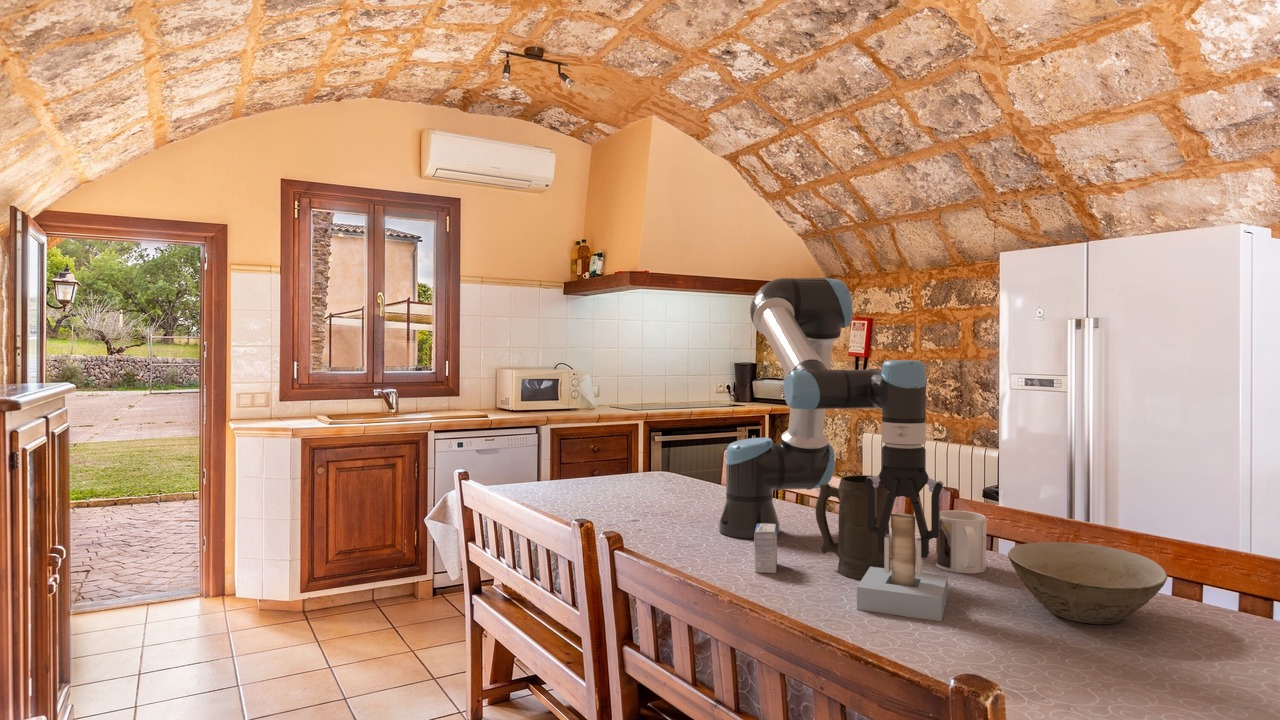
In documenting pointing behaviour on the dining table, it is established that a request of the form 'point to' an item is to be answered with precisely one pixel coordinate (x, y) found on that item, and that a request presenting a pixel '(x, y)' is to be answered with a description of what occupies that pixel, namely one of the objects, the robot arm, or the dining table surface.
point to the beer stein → (852, 525)
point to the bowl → (1087, 579)
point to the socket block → (903, 595)
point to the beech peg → (903, 550)
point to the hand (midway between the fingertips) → (903, 572)
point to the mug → (961, 542)
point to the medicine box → (765, 548)
